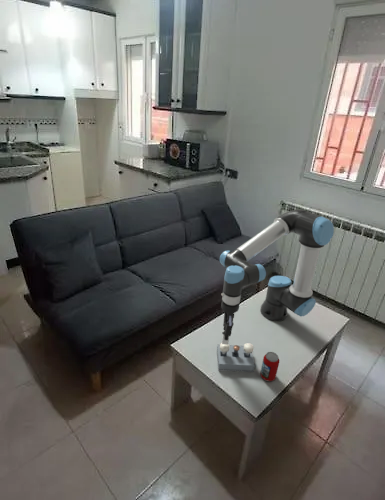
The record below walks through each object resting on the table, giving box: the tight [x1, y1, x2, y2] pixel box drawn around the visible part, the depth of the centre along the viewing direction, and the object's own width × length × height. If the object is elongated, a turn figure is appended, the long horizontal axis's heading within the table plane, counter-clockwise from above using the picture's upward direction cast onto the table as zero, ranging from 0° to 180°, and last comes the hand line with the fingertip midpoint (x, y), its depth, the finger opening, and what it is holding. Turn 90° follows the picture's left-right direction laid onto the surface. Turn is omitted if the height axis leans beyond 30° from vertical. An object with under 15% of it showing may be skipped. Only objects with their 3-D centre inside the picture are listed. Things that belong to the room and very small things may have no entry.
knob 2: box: [243, 342, 255, 356], centre depth 142 cm, size 4×4×5 cm
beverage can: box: [260, 351, 280, 382], centre depth 135 cm, size 7×7×12 cm
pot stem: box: [233, 344, 240, 355], centre depth 142 cm, size 3×3×4 cm
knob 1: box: [219, 342, 231, 354], centre depth 142 cm, size 4×4×5 cm
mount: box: [216, 344, 256, 373], centre depth 144 cm, size 16×12×4 cm
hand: (225, 343), depth 140 cm, fingers closed
